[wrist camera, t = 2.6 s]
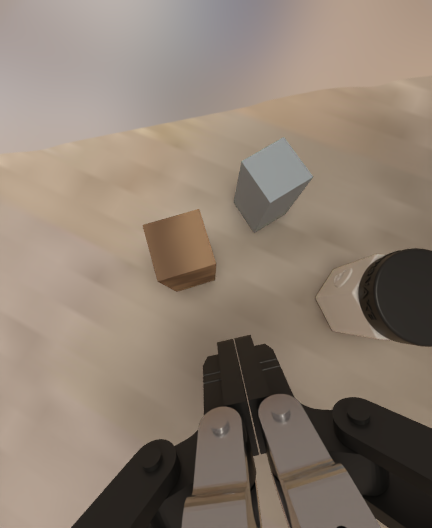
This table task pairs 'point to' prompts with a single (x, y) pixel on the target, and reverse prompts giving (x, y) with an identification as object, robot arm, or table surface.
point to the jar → (382, 297)
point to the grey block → (270, 184)
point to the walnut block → (181, 251)
